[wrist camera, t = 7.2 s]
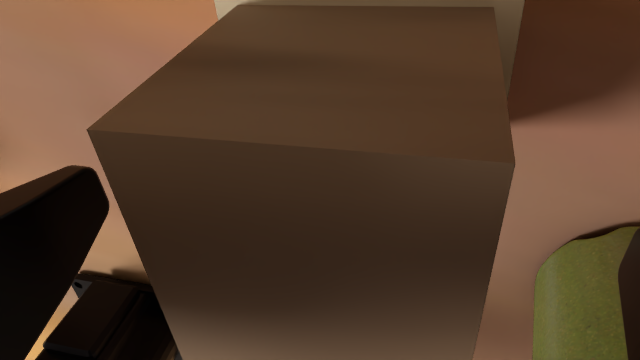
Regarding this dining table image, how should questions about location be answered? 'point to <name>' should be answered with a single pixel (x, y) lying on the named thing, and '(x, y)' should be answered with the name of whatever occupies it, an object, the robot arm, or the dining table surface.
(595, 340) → the plant pot
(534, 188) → the dining table surface
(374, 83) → the walnut block
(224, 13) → the oak block
